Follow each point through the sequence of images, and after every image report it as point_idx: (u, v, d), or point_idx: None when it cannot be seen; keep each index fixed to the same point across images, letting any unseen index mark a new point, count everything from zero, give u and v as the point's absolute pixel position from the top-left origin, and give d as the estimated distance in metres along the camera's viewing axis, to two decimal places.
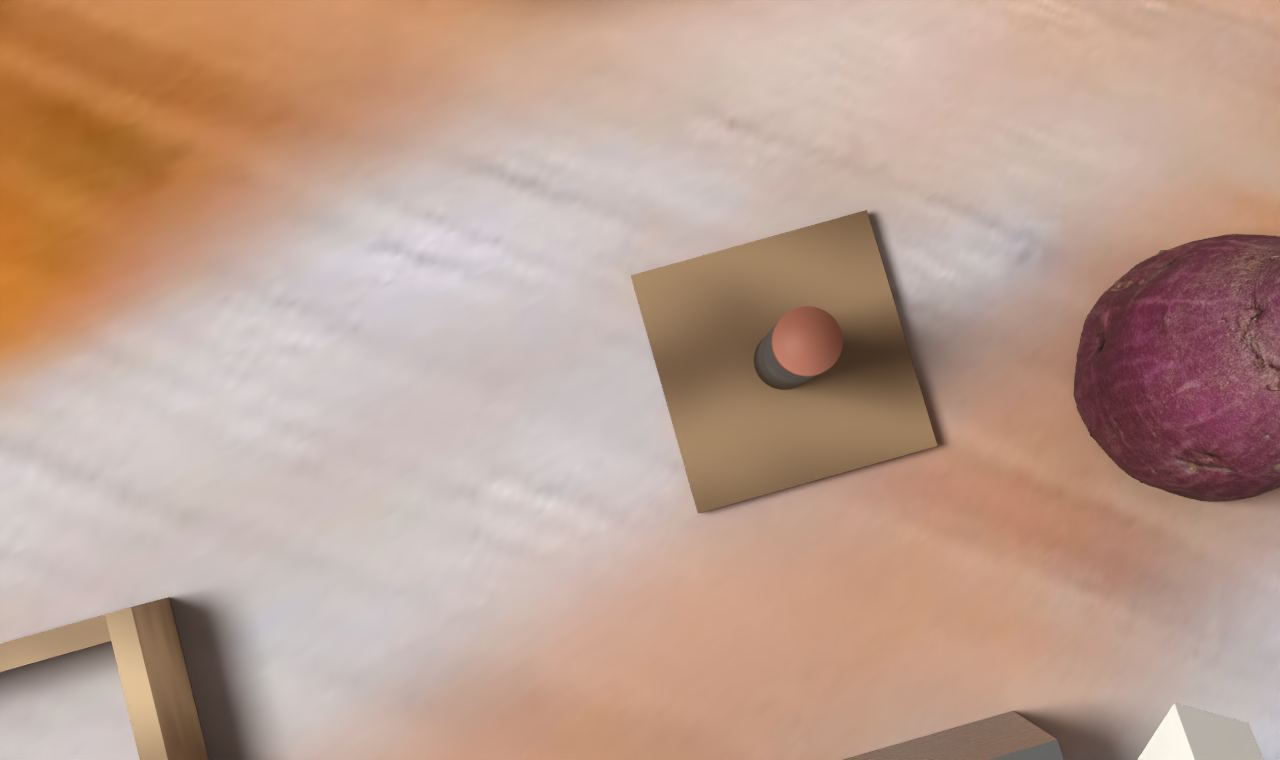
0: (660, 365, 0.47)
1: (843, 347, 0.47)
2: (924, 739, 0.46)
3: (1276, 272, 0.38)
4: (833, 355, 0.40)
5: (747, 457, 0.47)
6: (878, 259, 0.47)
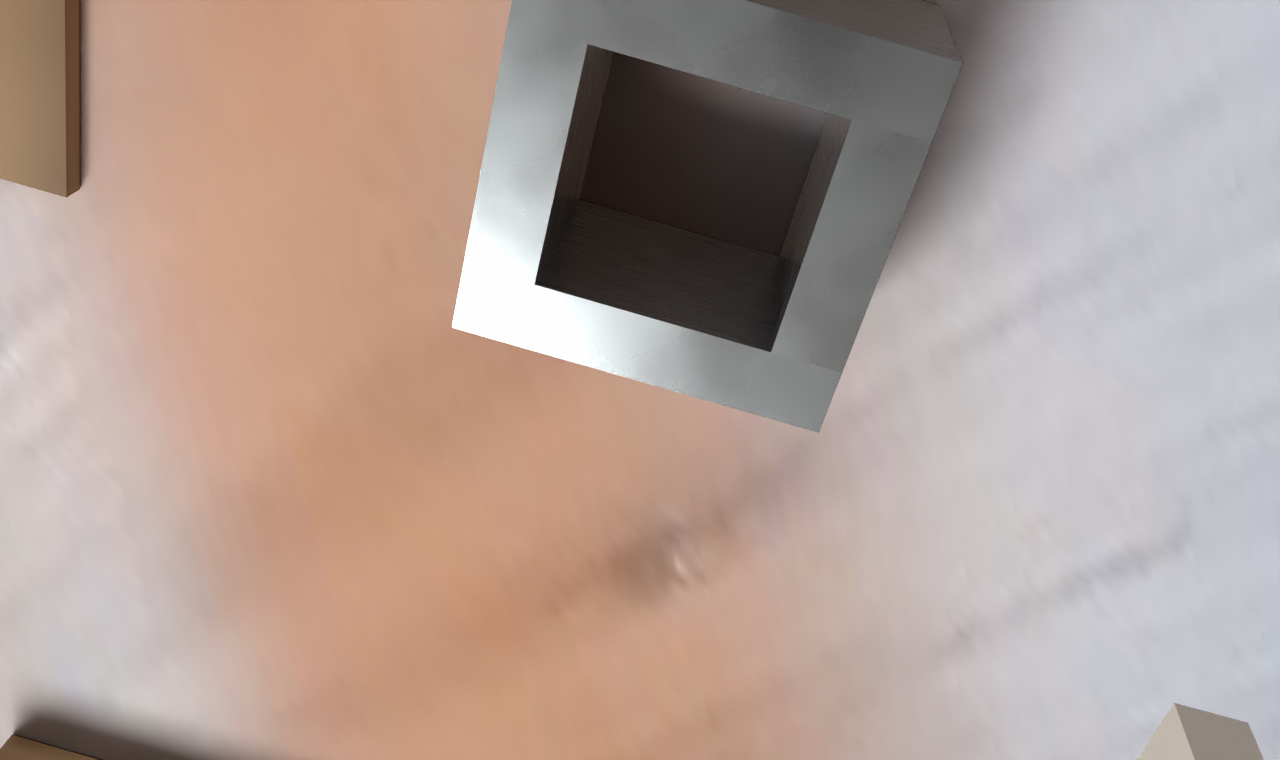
0: None
1: None
2: None
3: None
4: None
5: (0, 83, 0.28)
6: None
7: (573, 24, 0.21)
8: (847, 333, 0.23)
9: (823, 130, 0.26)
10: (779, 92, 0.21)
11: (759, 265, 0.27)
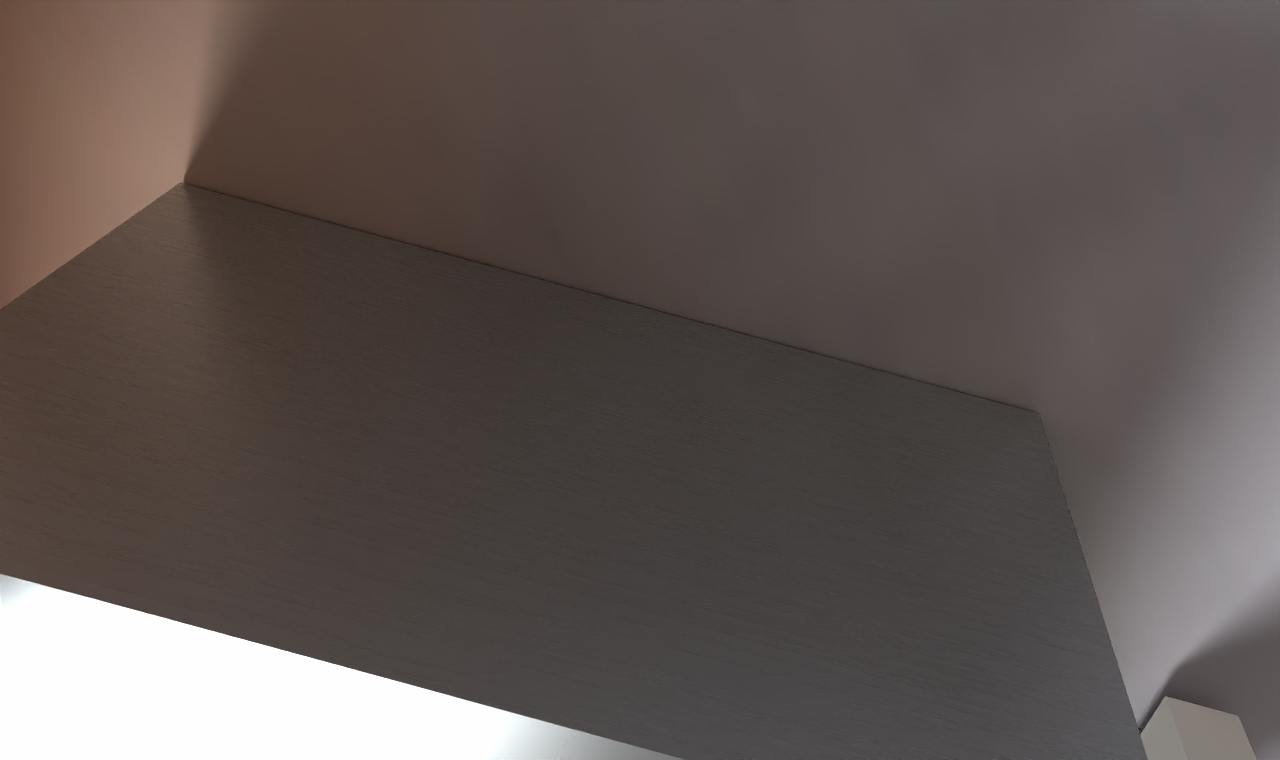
0: None
1: None
2: None
3: None
4: None
5: None
6: None
7: None
8: None
9: None
10: None
11: None
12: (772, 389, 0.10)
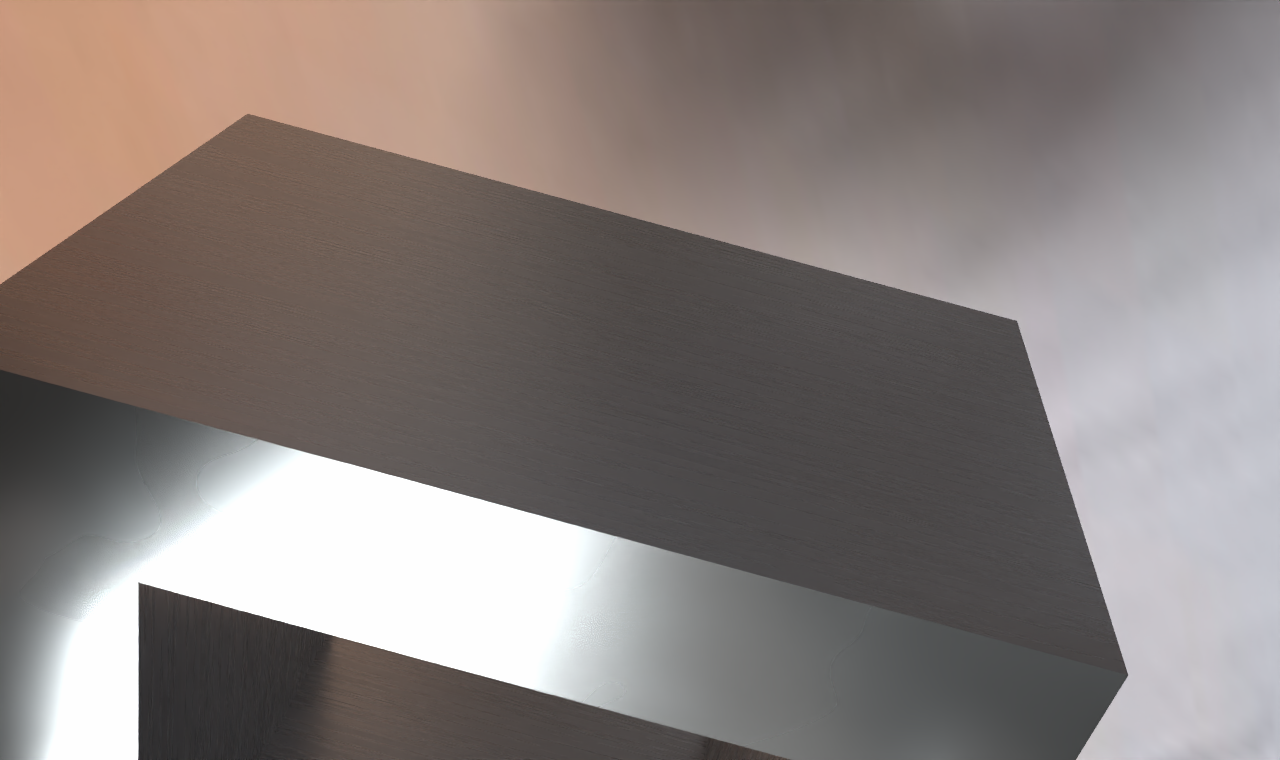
0: None
1: None
2: None
3: None
4: None
5: None
6: None
7: (92, 540, 0.08)
8: None
9: None
10: (636, 702, 0.08)
11: None
12: (778, 293, 0.11)
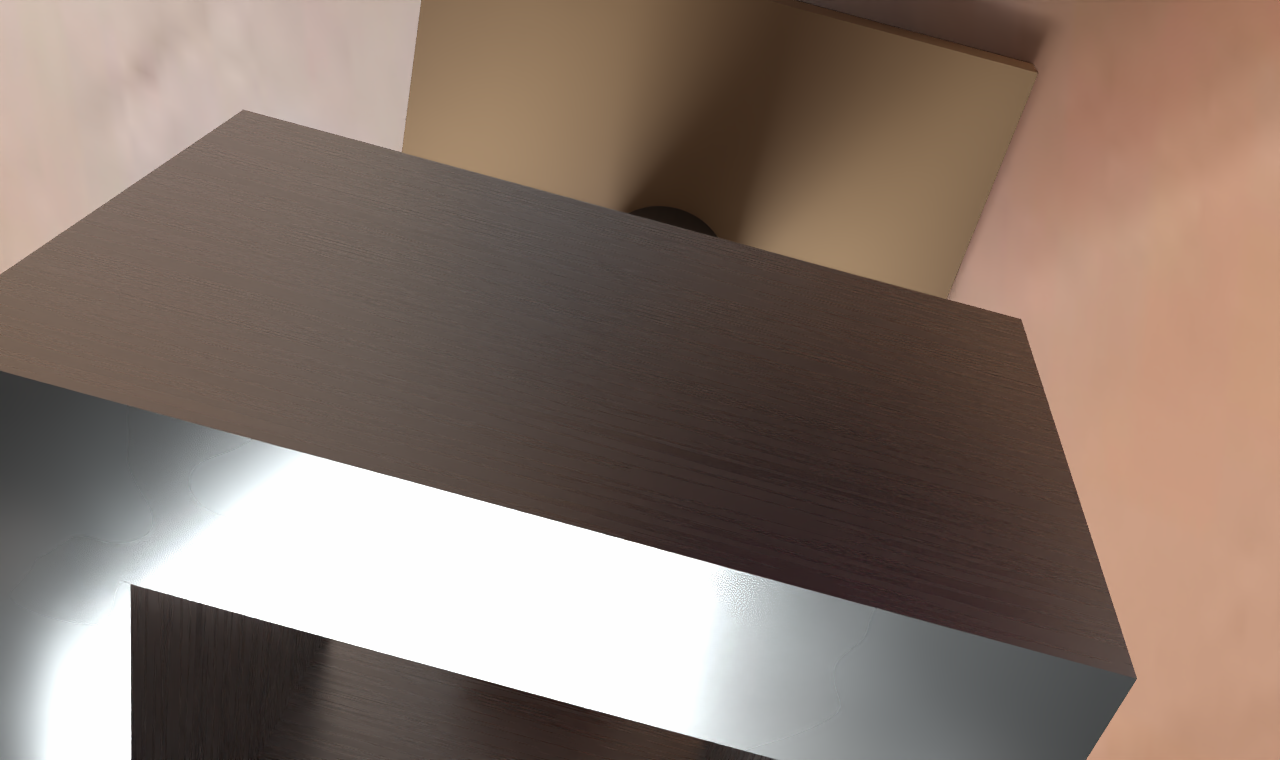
0: None
1: (704, 143, 0.20)
2: None
3: None
4: None
5: None
6: None
7: (84, 541, 0.08)
8: None
9: None
10: (636, 706, 0.08)
11: None
12: (780, 291, 0.11)
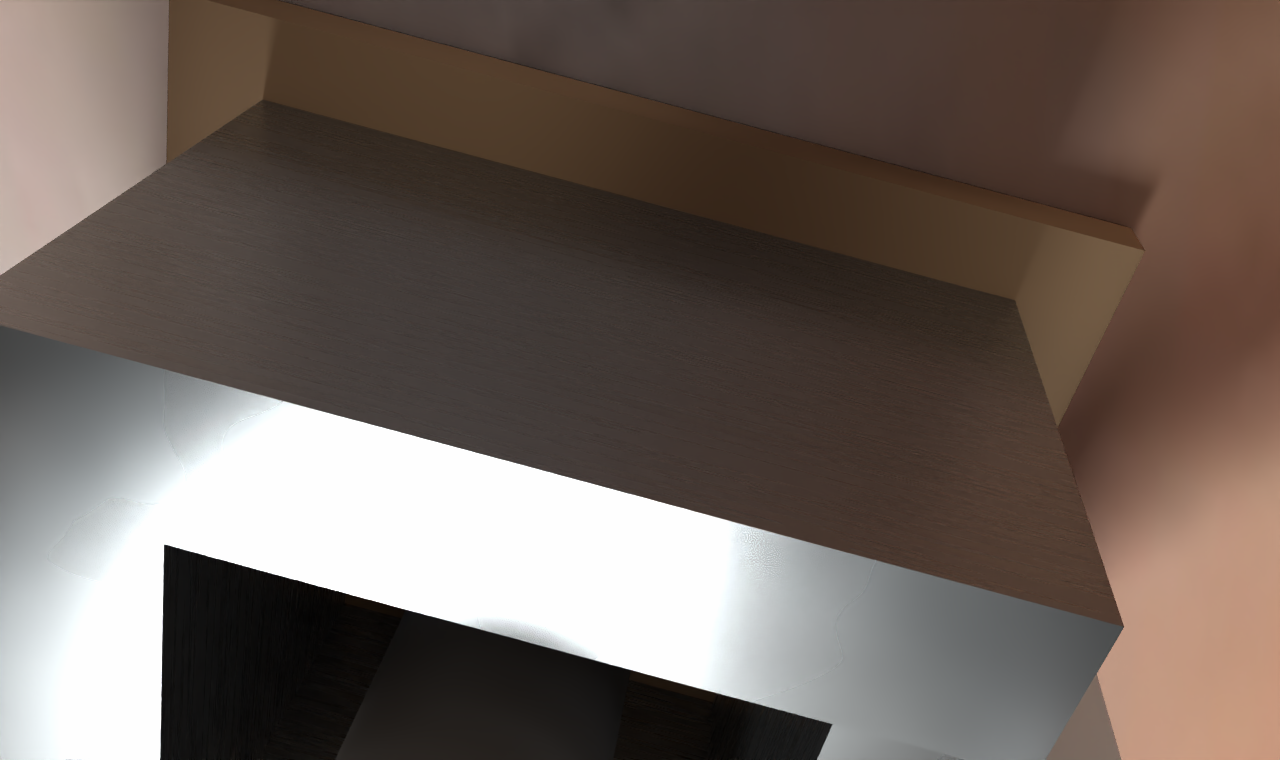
0: None
1: None
2: None
3: None
4: None
5: None
6: (370, 57, 0.12)
7: (120, 503, 0.08)
8: None
9: None
10: (647, 659, 0.08)
11: (672, 742, 0.14)
12: (783, 273, 0.11)
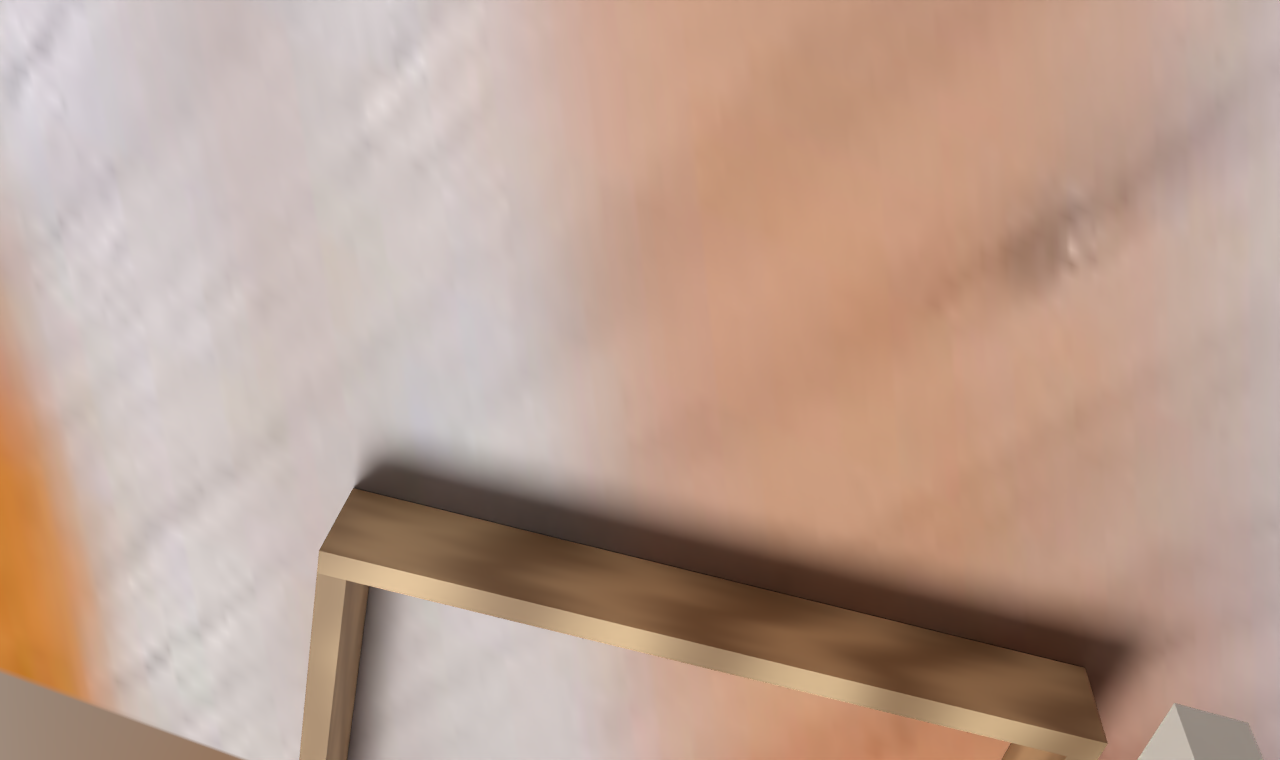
0: None
1: None
2: None
3: None
4: None
5: None
6: None
7: None
8: None
9: None
10: None
11: None
12: None
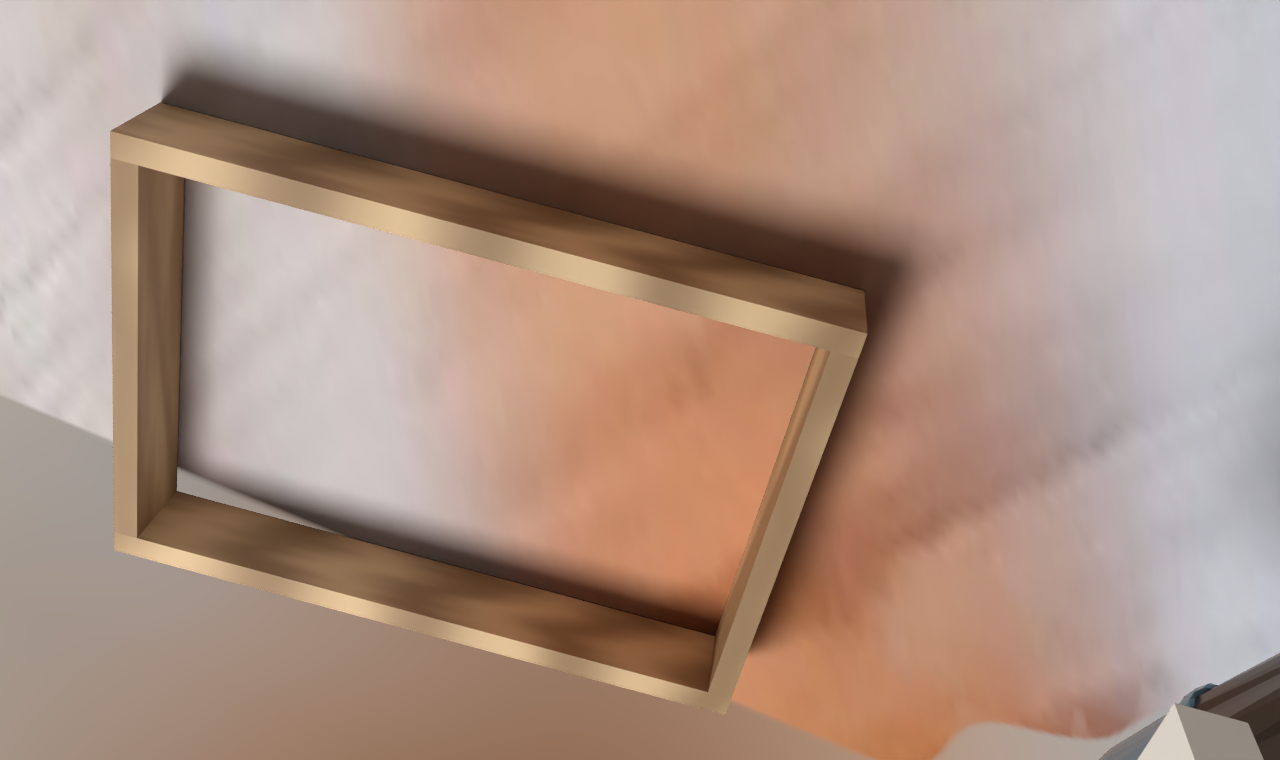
0: None
1: None
2: None
3: None
4: None
5: None
6: None
7: None
8: None
9: None
10: None
11: None
12: None
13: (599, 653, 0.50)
